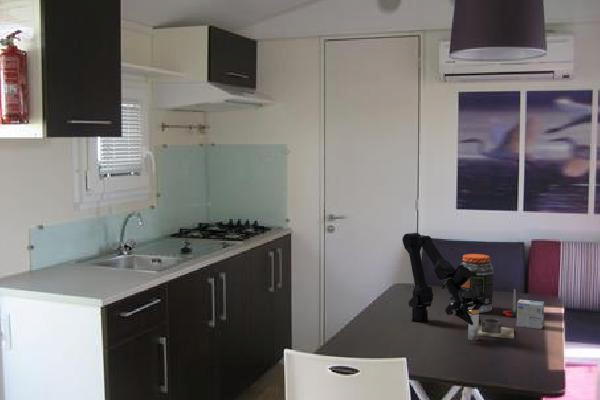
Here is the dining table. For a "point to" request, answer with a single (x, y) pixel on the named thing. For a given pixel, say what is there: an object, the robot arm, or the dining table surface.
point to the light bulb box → (530, 314)
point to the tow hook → (513, 312)
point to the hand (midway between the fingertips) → (476, 323)
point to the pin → (473, 328)
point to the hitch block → (494, 329)
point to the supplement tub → (480, 278)
